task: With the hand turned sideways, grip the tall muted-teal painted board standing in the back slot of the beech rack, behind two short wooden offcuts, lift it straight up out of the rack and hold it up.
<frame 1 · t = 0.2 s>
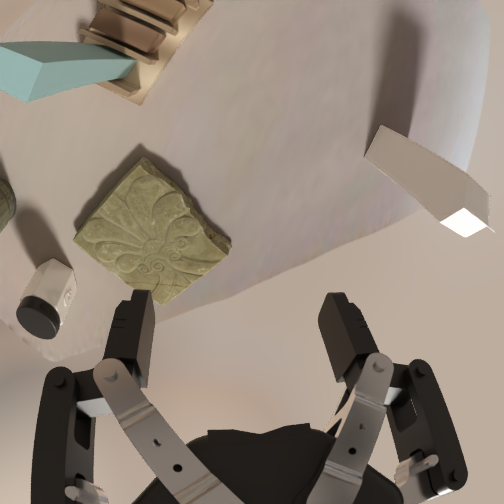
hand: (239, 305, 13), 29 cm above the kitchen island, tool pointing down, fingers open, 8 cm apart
decorative tile: (154, 234, 44), on the kitchen island
milk: (385, 148, 39), on the kitchen island
oak offcut: (153, 5, 23), point 1 cm above the kitchen island, touching beech rack
walnut offcut: (134, 32, 25), point 1 cm above the kitchen island, touching beech rack
jar: (58, 275, 46), on the kitchen island
teal board: (116, 60, 27), point 1 cm above the kitchen island, touching beech rack
beech rack: (136, 33, 26), on the kitchen island
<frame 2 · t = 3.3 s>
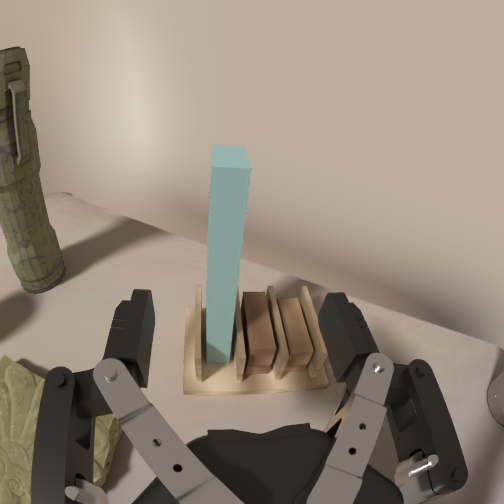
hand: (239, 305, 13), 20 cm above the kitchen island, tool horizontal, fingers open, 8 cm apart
decorative tile: (32, 461, 17), on the kitchen island
thermos: (43, 276, 39), on the kitchen island
oak offcut: (287, 344, 34), point 1 cm above the kitchen island, touching beech rack
walnut offcut: (252, 345, 33), point 1 cm above the kitchen island, touching beech rack
teal board: (217, 345, 33), point 1 cm above the kitchen island, touching beech rack
beech rack: (251, 350, 34), on the kitchen island
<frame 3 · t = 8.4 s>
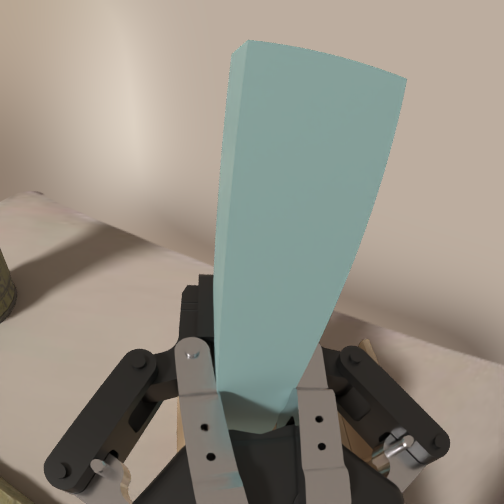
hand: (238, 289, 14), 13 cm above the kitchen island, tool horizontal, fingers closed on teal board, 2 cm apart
oak offcut: (336, 425, 19), point 1 cm above the kitchen island, touching beech rack
teal board: (229, 437, 18), point 1 cm above the kitchen island, touching beech rack, gripper
beech rack: (282, 437, 19), on the kitchen island
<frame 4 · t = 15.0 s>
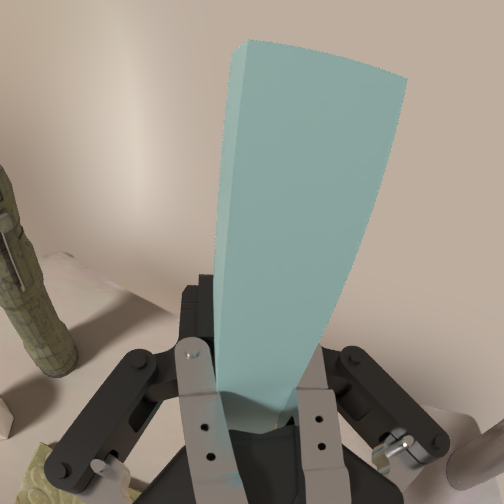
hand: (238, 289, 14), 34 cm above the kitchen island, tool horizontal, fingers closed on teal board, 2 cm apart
thermos: (58, 358, 41), on the kitchen island
teal board: (229, 437, 18), point 22 cm above the kitchen island, touching gripper
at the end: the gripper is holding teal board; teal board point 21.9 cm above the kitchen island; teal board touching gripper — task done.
